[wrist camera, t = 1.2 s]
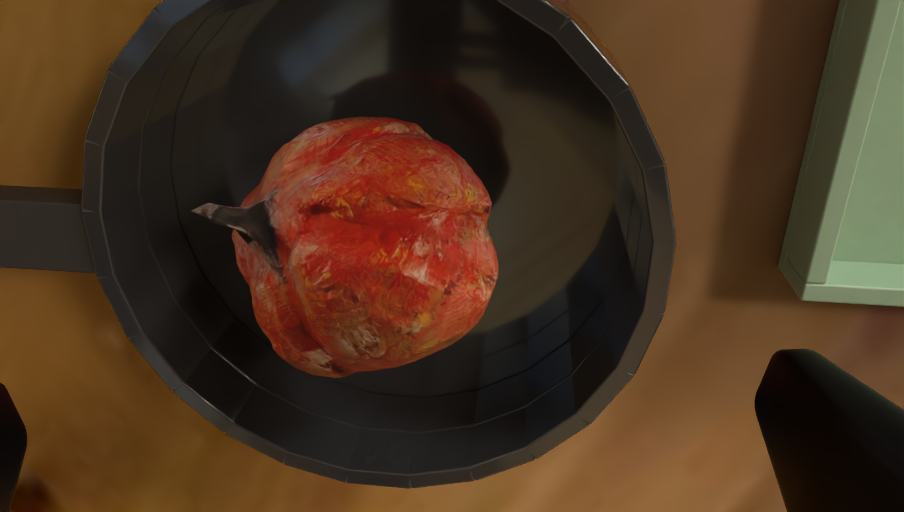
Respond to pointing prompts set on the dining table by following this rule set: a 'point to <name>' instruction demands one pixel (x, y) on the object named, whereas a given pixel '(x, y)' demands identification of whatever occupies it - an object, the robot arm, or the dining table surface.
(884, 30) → the tray
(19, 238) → the pan handle
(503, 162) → the pan
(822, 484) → the robot arm
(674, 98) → the dining table surface
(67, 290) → the dining table surface
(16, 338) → the dining table surface
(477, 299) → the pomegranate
